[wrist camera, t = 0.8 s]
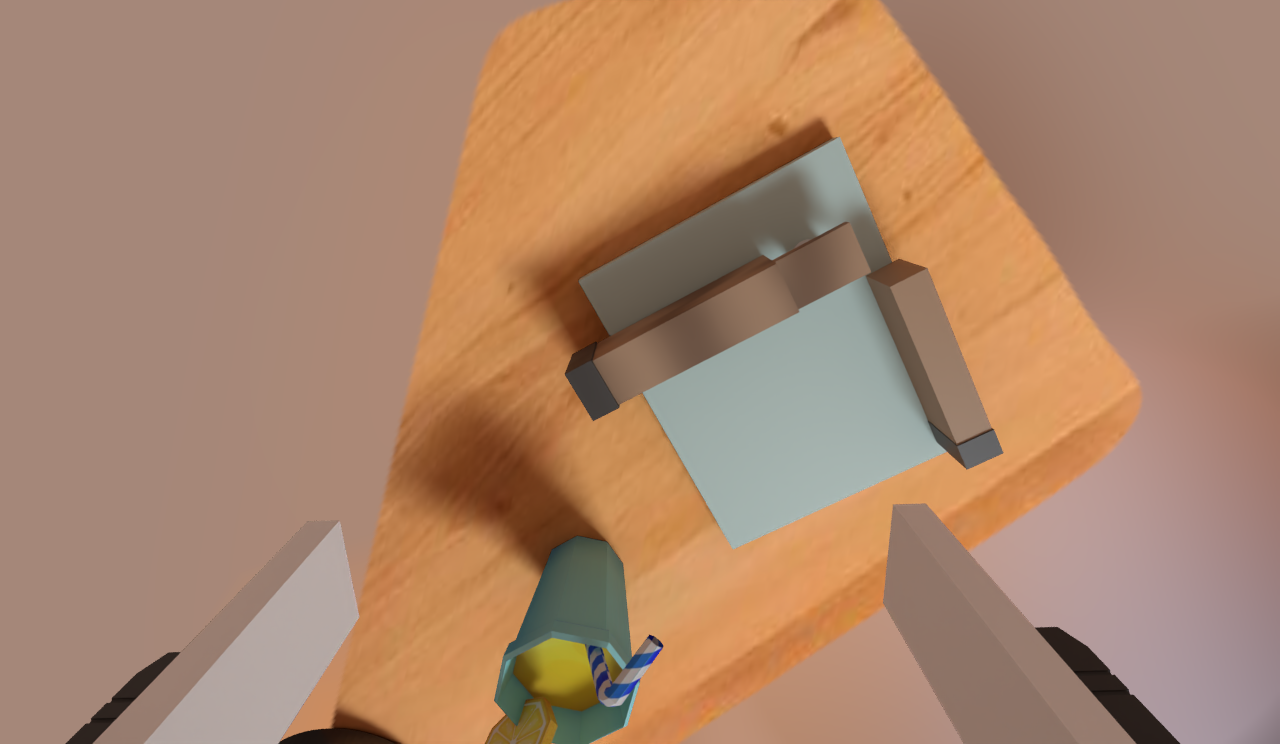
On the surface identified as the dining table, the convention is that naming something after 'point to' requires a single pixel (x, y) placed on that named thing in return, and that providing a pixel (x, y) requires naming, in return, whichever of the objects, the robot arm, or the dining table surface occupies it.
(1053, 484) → the dining table surface
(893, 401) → the stool seat
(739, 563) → the dining table surface
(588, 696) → the cup
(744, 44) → the dining table surface
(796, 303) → the leg
